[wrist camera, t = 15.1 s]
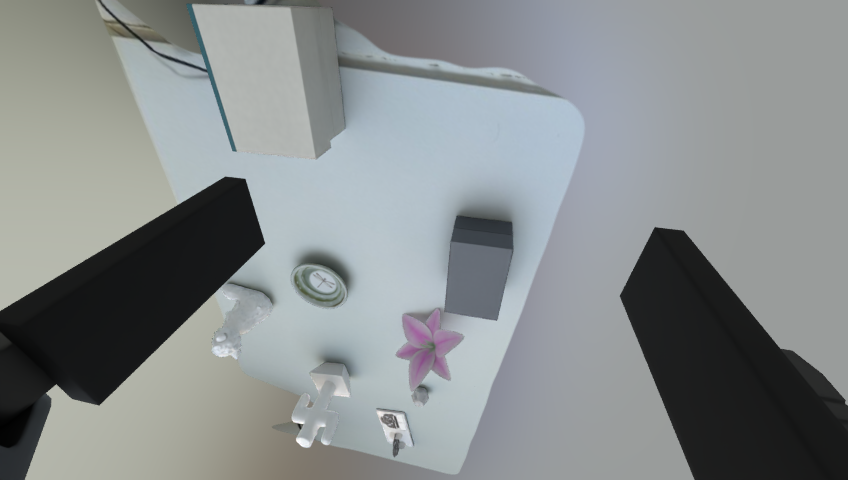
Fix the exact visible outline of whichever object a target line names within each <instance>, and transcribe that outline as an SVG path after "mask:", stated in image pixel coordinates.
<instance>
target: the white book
mask: <svg viewBox="0 0 848 480" xmlns="http://www.w3.org/2000/svg"><path fill="white" fill-rule="evenodd" d="M187 8H188V11H189V14H190V18H191V21H192V24H193V27H194V30H195V33H196V37H197V40H198V43H199V46H200V49H201V53H202V56H203V59H204V62H205V65H206V68H207V72H208V75H209V78H210V81H211V84H212V87H213V91H214V94H215V97H216V100H217V103H218V106H219V110H220V113H221V116H222V119H223V122H224V126H225V129H226V132H227V135H228V138H229V141H230V145H231V148H232V151H235V152H247V153H256V154H266V155H276V156H286V157H295V158H305V159H315V160H316V159H317V158H319V157H320V156H321V155H322V154H324V153H325V152H326V151H328V150H329V149H330V148H331V143H330V136H329V129H328V122H327V115H326V107H325V100H324V93H323V86H322V78H321V71H320V64H319V57H318V50H317V42H316V35H315V28H314V21H313V14H312V8H311V7H286V6H255V5H222V4H187Z"/></svg>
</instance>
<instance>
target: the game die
mask: <svg viewBox="0 0 848 480" xmlns="http://www.w3.org/2000/svg"><path fill="white" fill-rule="evenodd" d="M411 396H412V399H413V402H414V404H415V406H418V407H423V406H424V405H425V404H426V402H427V401H428V399H429V397H428V394H427V391H426V389H425V388H421V387H418V388H417V389H416V390H415V391H414V393H413V394H412V395H411Z"/></svg>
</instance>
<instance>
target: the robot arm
mask: <svg viewBox="0 0 848 480" xmlns="http://www.w3.org/2000/svg"><path fill="white" fill-rule="evenodd" d="M264 244H265V242H264V238H263V235H262V232H261V228H260V225H259V222H258V219H257V215H256V212H255V209H254V206H253V202H252V199H251V196H250V192H249V189H248V186H247V183H246V179H241V178H233V177H224V178H222V179H221V180H219V181H217V182H216V183H214V184H212V185H211V186H209V187H207V188H206V189H204V190H202V191H201V192H199V193H197V194H196V195H194V196H192V197H191V198H189V199H187V200H186V201H184V202H182V203H181V204H179V205H177V206H176V207H174V208H172V209H171V210H169V211H167V212H166V213H164V214H162V215H160V216H159V217H157V218H155V219H154V220H152V221H150V222H149V223H147V224H145V225H144V226H142V227H140V228H139V229H137V230H135V231H134V232H132V233H130V234H129V235H127V236H125V237H124V238H122V239H120V240H119V241H117V242H115V243H113V244H112V245H111V246H109V247H107V248H105V249H104V250H102V251H100V252H98V253H97V254H95V255H93V256H92V257H90V258H88V259H87V260H85V261H83V262H82V263H80V264H78V265H77V266H75V267H73V268H72V269H70V270H68V271H67V272H65V273H63V274H61V275H60V276H58V277H57V278H55V279H53V280H51V281H50V282H48V283H46V284H45V285H43V286H42V287H40V288H38V289H36V290H35V291H33V292H31V293H30V294H28V295H26V296H25V297H23V298H21V299H20V300H18V301H16V302H15V303H13V304H11V305H10V306H8V307H6V308H4V309H3V310H1V311H0V480H25V477H26V474H27V472H28V469H29V466H30V463H31V460H32V458H33V455H34V452H35V449H36V447H37V444H38V441H39V438H40V436H41V432H42V430H43V427H44V424H45V422H46V419H47V416H48V413H49V411H50V407H51V398H50V397H49V396H48V395H47V394H46V392H48V391H49V390H50V389H51V388H52V387H53V386H55V385H56V384H57V385H58V386H59V387H60V388H61V389H62V390H63V391H64V392H65V393H66V394H67V395H69V397H71V398H72V399H75V400H79V401H83V402H87V403H91V404H95V405H100V404H101V403H102V402H103V401H104V400H105V399H106V398H107V397H108V396H109V395H110V394H112V393H113V392H114V391H115V390H116V389H117V388H118V387H119V386H120V385H121V384H122V383H123V382H124V381H125V380H126V379H127V378H128V377H129V376H130V375H131V374H132V373H133V372H134V371H135V370H136V369H137V368H138V367H139V366H140V365H141V364H142V363H143V362H144V361H145V360H146V359H147V358H148V357H149V356H150V355H151V354H152V353H154V351H156V350H157V349H158V348H159V347H160V346H161V345H162V344H163V343H164V342H165V341H166V340H167V339H168V338H169V337H170V336H171V335H172V334H173V333H174V332H175V331H176V330H177V329H178V328H179V327H180V326H181V325H182V324H183V323H184V322H185V321H186V320H187V319H188V318H189V317H190V316H191V315H192V314H193V313H194V312H195V311H197V310H198V309H199V308H200V307H201V305H203V303H205V302H206V301H207V300H208V299H209V298H210V297H211V296H212V295H213V294H214V293H215V292H216V291H217V290H218V289H219V288H220V287H221V286H222V285H223V284H224V283H225V282H226V281H227V280H228V279H229V278H230V277H231V276H232V275H233V274H234V273H236V272H237V271H238V270H239V269H240V268H241V267H242V266H243V265H244V264H245V263H246V262H247V261H248V260H249V259H250V258H251V257H252V256H253V255H254V254H255V253H256V252H257V251H258V250H259V249H260V248H261V247H262V246H263V245H264ZM620 297H621V300H622V303H623V305H624V307H625V310H626V312H627V315H628V317H629V320H630V322H631V325H632V327H633V330H634V332H635V334H636V337H637V339H638V342H639V344H640V347H641V349H642V351H643V354H644V357H645V359H646V361H647V364H648V366H649V369H650V371H651V374H652V376H653V379H654V381H655V384H656V386H657V389H658V391H659V393H660V396H661V398H662V401H663V403H664V406H665V408H666V411H667V413H668V416H669V418H670V420H671V423H672V425H673V428H674V430H675V433H676V435H677V438H678V440H679V442H680V445H681V447H682V450H683V452H684V455H685V457H686V460H687V462H688V465H689V467H690V470H691V472H692V475H693V477H694V479H695V480H848V406H847V405H846V404H845V399H844V398H843V397H842V396H841V395H840V394H839V392H838V391H837V390H836V389H835V388H834V387H833V386H832V384H831V383H830V382H829V381H828V380H827V379H826V378H825V376H824V375H823V374H822V373H820V372H819V371H818V370H816V369H815V368H814V367H813V366H811V365H810V364H809V363H807V362H806V361H805V360H803V359H802V358H801V357H800V356H798V355H797V354H796V353H795V352H793V351H791V350H785V349H780V348H779V347H778V345H777V344H776V343H775V342H774V341H773V339H772V338H771V337H770V336H769V334H768V333H767V332H766V331H765V330H764V328H763V327H762V326H761V325H760V324H759V322H758V321H757V320H756V319H755V317H754V316H753V315H752V314H751V312H750V311H749V310H748V309H747V308H746V306H745V305H744V304H743V303H742V302H741V300H740V299H739V298H738V297H737V295H736V294H735V293H734V292H733V291H732V289H731V288H730V287H729V286H728V284H727V283H726V282H725V281H724V280H723V278H722V277H721V276H720V275H719V273H718V272H717V271H716V270H715V268H714V267H713V266H712V265H711V264H710V262H709V261H708V260H707V259H706V257H705V256H704V255H703V254H702V253H701V251H700V250H699V249H698V248H697V246H696V245H695V244H694V243H693V242H692V240H691V239H690V238H689V237H688V236H687V234H686V233H685V232H684V231H682V230H673V229H665V228H656V227H655V228H654V230H653V232H652V234H651V236H650V238H649V240H648V242H647V244H646V245H645V247H644V249H643V251H642V254H641V255H640V257H639V259H638V261H637V263H636V265H635V267H634V269H633V271H632V273H631V275H630V277H629V279H628V281H627V283H626V285H625V287H624V289H623V291H622V293H621V295H620Z"/></svg>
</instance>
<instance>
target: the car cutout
mask: <svg viewBox="0 0 848 480" xmlns="http://www.w3.org/2000/svg"><path fill="white" fill-rule="evenodd" d="M376 411H377V414H378V416H379V419H380V422H381V425H382V427H383V430H384V433H385V435H386V438H387V441H388V443H393V456H394V458H395V456H397V454H398V451H399V448H400V449H403V448H404V447H405V446H412V447H413V446H414V444H413V440H412V437H411V433H410V430H409V426H408V423H407V419H406V416H405V412H399V411H391V410H384V409H377V410H376Z"/></svg>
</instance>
